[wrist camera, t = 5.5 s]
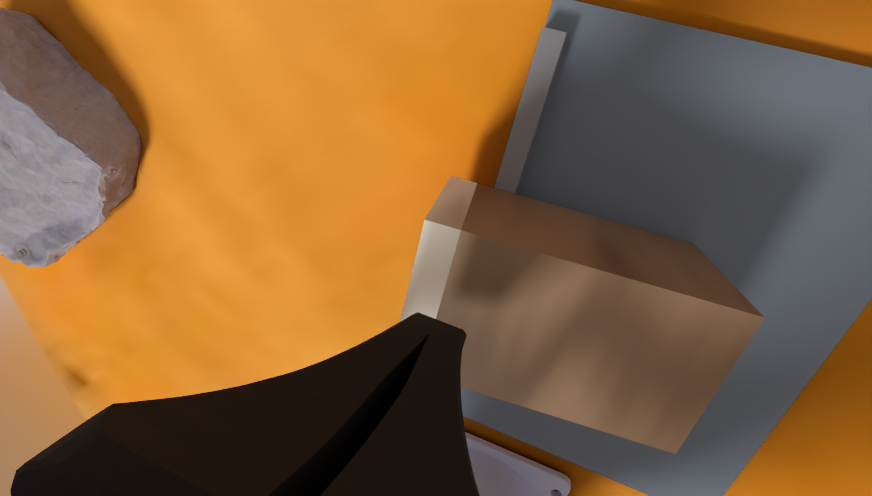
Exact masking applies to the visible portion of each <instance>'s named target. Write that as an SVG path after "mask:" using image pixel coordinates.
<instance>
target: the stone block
mask: <svg viewBox="0 0 872 496" xmlns="http://www.w3.org/2000/svg"><path fill="white" fill-rule="evenodd" d="M140 152H141V140H140V134H139V133H138V131H137V129H136V127H135V126H134V125H133V123H132V122H131V121H130V119H129V118H128V116H127V115H126V113H125V112H124V110H123V109H122V107H121V105H120V103H119V102H118V101H117V100H116V98H115V96H114V95H113V93H112V92H111V91H109V90H108V89H107V88H106V87H104V86H103V85H102V84H101V83H100V82H98V81H97V80H96V79H95V78H94V76H93V75H92V74H91V73H90V72H88V71H86V70H84V69H83V68H82V67H81V66H80V65H79V64H78V63H77V61H76V60H75V59H74V58H73V57H72V55H71V54H70V52H69V51H68V50H67V49H66V48H65V46H64V45H63V44H62V43H61V42H60V41H58V40H57V39H56V38H55V37H53V36H52V35H51V34H50V33H49V32H48V31H47V30H46V29H45V28H44V27H43V25H42V24H41V23H40V22H39V21H38V20H37V19H36V18H35V17H33V16H31V15H29V14H26V13H23V12H20V11H17V10H7V9H3V8H0V253H1V254H2V255H4V256H5V257H6V258H8V259H9V260H10V261H12V262H13V263H16V262H22V263H24V264H25V265H26V266H28V267H31V268H33V267H45V266H48V265H51V264H53V263H55V262H57V261H58V260H59V259H60V258H61V257H62V256H63V255H65V254H66V252H67V251H68V250H70V248H71V247H74V246H76V245H77V244H78V243H79V242H80V241H81V239H82V238H84V237H85V236H87V235H89V234H91V233H92V232H93V231H94V230H95V229H96V228H97V227H98V226H99V225H100V224H101V223H103V222H104V221H105V220H106V219H107V217H108V214H109V212H110V211H111V210H112V209H113V208H114V207H116V206H118V204H119V203H120V202H121V200H123V199H124V198H126V197H127V196H128V195H130V194H131V192H132V191H133V190H134V180H135V176H136V173H137V169H138V161H139V157H140Z"/></svg>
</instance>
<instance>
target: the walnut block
mask: <svg viewBox="0 0 872 496" xmlns="http://www.w3.org/2000/svg"><path fill="white" fill-rule="evenodd" d="M417 312H419V313H421V314H424V315H427V316H429V317H432V318H434V319H437V320H440V321H442V322H445V323H447V324H450V325H453V326H455V327H458V328H460V329H463V330H464V331H465V333H466V335H467V336H466V340H465V343H464V346H463V349H462V357H461V387H462V388H465V389H468V390H471V391H475V392H478V393H481V394H484V395H487V396H491V397H494V398H497V399H500V400H504V401H507V402H510V403H513V404H516V405H520V406H523V407H526V408H529V409H532V410H536V411H539V412H542V413H545V414H548V415H552V416H555V417H558V418H561V419H565V420H568V421H571V422H574V423H577V424H581V425H584V426H587V427H590V428H593V429H597V430H600V431H603V432H606V433H610V434H613V435H616V436H619V437H622V438H626V439H629V440H632V441H635V442H638V443H642V444H645V445H648V446H651V447H654V448H658V449H661V450H664V451H667V452H671V453H674V454H676V453H677V451H678V450H679V448H680V447H681V445H682V444H683V442H684V441H685V439H686V437H687V436H688V434H689V433H690V431H691V430H692V428H693V427H694V425H695V424H696V422H697V421H698V419H699V418H700V416H701V415H702V413H703V411H704V410H705V408H706V407H707V405H708V404H709V402H710V401H711V399H712V398H713V396H714V395H715V393H716V392H717V390H718V389H719V387H720V385H721V384H722V382H723V381H724V379H725V378H726V376H727V375H728V373H729V372H730V370H731V369H732V367H733V366H734V364H735V363H736V361H737V359H738V358H739V356H740V355H741V353H742V352H743V350H744V349H745V347H746V346H747V344H748V343H749V341H750V340H751V338H752V337H753V335H754V333H755V332H756V330H757V329H758V327H759V326H760V324H761V323H762V321H763V320H764V318H765V317H764V316H763V315H762V314H761V313H760V312H759V311H758V310H757V309H756V308H755V307H754V306H753V305H752V304H751V303H750V302H749V300H748V299H747V298H746V297H745V296H744V295H743V294H742V293H741V292H740V291H739V290H738V289H737V288H736V287H735V286H734V285H733V284H732V283H731V282H730V281H729V280H728V278H727V277H726V276H725V275H724V274H723V273H722V272H721V271H720V270H719V269H718V268H717V267H716V266H715V265H714V264H713V263H712V262H711V261H710V260H709V259H708V257H707V256H706V255H705V254H704V253H703V252H702V251H701V250H700V249H699V248H698V247H697V246H696V245H695V244H693V243H689V242H686V241H682V240H679V239H675V238H671V237H668V236H664V235H661V234H657V233H654V232H650V231H646V230H643V229H639V228H636V227H632V226H629V225H625V224H622V223H618V222H614V221H611V220H607V219H604V218H600V217H597V216H593V215H589V214H586V213H582V212H579V211H575V210H572V209H568V208H564V207H561V206H557V205H554V204H550V203H547V202H543V201H539V200H536V199H532V198H529V197H525V196H522V195H518V194H515V193H511V192H507V191H504V190H500V189H497V188H493V187H490V186H486V185H482V184H479V183H475V182H472V181H468V180H465V179H461V178H457V177H454V176H451V177H450V178H449V180H448V182H447V183H446V185H445V187H444V188H443V190H442V192H441V193H440V195H439V197H438V198H437V200H436V202H435V203H434V205H433V207H432V208H431V210H430V212H429V213H428V215H427V217H426V218H425V221H424V225H423V229H422V233H421V237H420V241H419V245H418V250H417V254H416V258H415V262H414V266H413V270H412V274H411V278H410V283H409V287H408V291H407V295H406V299H405V303H404V307H403V312H402V316H401V320H400V322H401V321H403V320H404V319H406V318H407V317H409V316H411V315H412V314H415V313H417Z"/></svg>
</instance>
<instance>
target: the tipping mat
mask: <svg viewBox="0 0 872 496" xmlns="http://www.w3.org/2000/svg"><path fill="white" fill-rule="evenodd" d="M494 188H497V189H500V190H504V191H507V192H511V193H515V194H518V195H522V196H525V197H529V198H532V199H536V200H539V201H543V202H547V203H550V204H554V205H557V206H561V207H564V208H568V209H572V210H575V211H579V212H582V213H586V214H589V215H593V216H597V217H600V218H604V219H607V220H611V221H614V222H618V223H622V224H625V225H629V226H632V227H636V228H639V229H643V230H646V231H650V232H654V233H657V234H661V235H664V236H668V237H671V238H675V239H679V240H682V241H686V242H689V243H693V244H695V245H696V246H697V247H698V248H699V249H700V250H701V251H702V252H703V253H704V254H705V255H706V256H707V257H708V259H709V260H710V261H711V262H712V263H713V264H714V265H715V266H716V267H717V268H718V269H719V270H720V271H721V272H722V273H723V274H724V275H725V276H726V277H727V278H728V280H729V281H730V282H731V283H732V284H733V285H734V286H735V287H736V288H737V289H738V290H739V291H740V292H741V293H742V294H743V295H744V296H745V297H746V298H747V299H748V300H749V302H750V303H751V304H752V305H753V306H754V307H755V308H756V309H757V310H758V311H759V312H760V313H761V314H762V315H763V316H764V317H765V318H764V320H763V321H762V323H761V324H760V326H759V327H758V329H757V330H756V332H755V333H754V335H753V337H752V338H751V340H750V341H749V343H748V344H747V346H746V347H745V349H744V350H743V352H742V353H741V355H740V356H739V358H738V359H737V361H736V363H735V364H734V366H733V367H732V369H731V370H730V372H729V373H728V375H727V376H726V378H725V379H724V381H723V382H722V384H721V385H720V387H719V389H718V390H717V392H716V393H715V395H714V396H713V398H712V399H711V401H710V402H709V404H708V405H707V407H706V408H705V410H704V411H703V413H702V415H701V416H700V418H699V419H698V421H697V422H696V424H695V425H694V427H693V428H692V430H691V431H690V433H689V434H688V436H687V437H686V439H685V441H684V442H683V444H682V445H681V447H680V448H679V450H678V451H677V453H676V454H674V453H671V452H667V451H664V450H661V449H658V448H654V447H651V446H648V445H645V444H642V443H638V442H635V441H632V440H629V439H626V438H622V437H619V436H616V435H613V434H610V433H606V432H603V431H600V430H597V429H593V428H590V427H587V426H584V425H581V424H577V423H574V422H571V421H568V420H565V419H561V418H558V417H555V416H552V415H548V414H545V413H542V412H539V411H536V410H532V409H529V408H526V407H523V406H520V405H516V404H513V403H510V402H507V401H504V400H500V399H497V398H494V397H491V396H487V395H484V394H481V393H478V392H475V391H471V390H468V389H465V388H462V387H461V402H462V412H463V417H466V418H468V419H470V420H473V421H475V422H477V423H480V424H482V425H484V426H487V427H489V428H492V429H494V430H496V431H499V432H501V433H503V434H506V435H508V436H510V437H513V438H515V439H518V440H520V441H522V442H525V443H527V444H529V445H532V446H534V447H536V448H539V449H541V450H544V451H546V452H548V453H551V454H553V455H555V456H558V457H560V458H562V459H565V460H567V461H570V462H572V463H574V464H577V465H579V466H581V467H584V468H586V469H588V470H591V471H593V472H595V473H598V474H600V475H603V476H605V477H607V478H610V479H612V480H614V481H617V482H619V483H621V484H624V485H626V486H629V487H631V488H633V489H636V490H638V491H640V492H643V493H645V494H647V495H650V496H723V495H724V494H725V492H726V491H727V490H728V489H729V487H730V486H731V485H732V483H733V482H734V481H735V479H736V478H737V477H738V475H739V474H740V473H741V471H742V470H743V469H744V467H745V466H746V465H747V463H748V462H749V461H750V459H751V458H752V457H753V455H754V454H755V453H756V451H757V450H758V449H759V447H760V446H761V445H762V443H763V442H764V441H765V439H766V438H767V437H768V435H769V434H770V433H771V431H772V430H773V429H774V428H775V426H776V425H777V424H778V422H779V421H780V420H781V418H782V417H783V416H784V414H785V413H786V412H787V410H788V409H789V408H790V406H791V405H792V404H793V402H794V401H795V400H796V398H797V397H798V396H799V394H800V393H801V392H802V390H803V389H804V388H805V386H806V385H807V384H808V382H809V381H810V380H811V378H812V377H813V376H814V374H815V373H816V372H817V370H818V369H819V368H820V367H821V365H822V364H823V363H824V361H825V360H826V359H827V357H828V356H829V355H830V353H831V352H832V351H833V349H834V348H835V347H836V345H837V344H838V343H839V341H840V340H841V339H842V337H843V336H844V335H845V333H846V332H847V331H848V329H849V328H850V327H851V325H852V324H853V323H854V321H855V320H856V319H857V317H858V316H859V315H860V313H861V312H862V311H863V310H864V308H865V307H866V306H867V304H868V303H869V302H870V300H871V299H872V68H871V67H867V66H862V65H858V64H854V63H849V62H845V61H840V60H836V59H832V58H827V57H823V56H818V55H814V54H809V53H805V52H801V51H796V50H792V49H787V48H783V47H778V46H774V45H770V44H765V43H761V42H756V41H752V40H747V39H743V38H739V37H734V36H730V35H725V34H721V33H716V32H712V31H708V30H703V29H699V28H694V27H690V26H685V25H681V24H677V23H672V22H668V21H663V20H659V19H654V18H650V17H646V16H641V15H637V14H632V13H628V12H623V11H619V10H615V9H610V8H606V7H601V6H597V5H592V4H588V3H584V2H579V1H575V0H553V2H552V5H551V9H550V12H549V15H548V19H547V22H546V25H545V27H542V29H541V32H540V36H539V39H538V42H537V46H536V49H535V52H534V56H533V59H532V62H531V66H530V69H529V72H528V76H527V79H526V82H525V86H524V89H523V93H522V96H521V99H520V103H519V106H518V109H517V113H516V116H515V119H514V123H513V126H512V129H511V133H510V136H509V139H508V143H507V146H506V149H505V153H504V156H503V159H502V163H501V166H500V169H499V173H498V176H497V179H496V183H495V186H494Z"/></svg>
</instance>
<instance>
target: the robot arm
mask: <svg viewBox="0 0 872 496" xmlns="http://www.w3.org/2000/svg"><path fill="white" fill-rule="evenodd" d="M466 336H467V335H466V333H465V331H464V330H463V329H460V328H458V327H455V326H453V325H450V324H447V323H445V322H442V321H440V320H437V319H434V318H432V317H429V316H427V315H424V314H421V313H419V312H417V313H415V314H412V315H411V316H409V317H407V318H406V319H404V320H403V321H401V322H399V323H398V324H396V325H394V326H392V327H391V328H389V329H387V330H385V331H384V332H382V333H380V334H378V335H376V336H374V337H372V338H371V339H369V340H367V341H365V342H363V343H361V344H359V345H357V346H355V347H353V348H351V349H349V350H346V351H344V352H342V353H340V354H338V355H335V356H333V357H331V358H329V359H326V360H324V361H321V362H319V363H316V364H314V365H311V366H308V367H306V368H303V369H300V370H297V371H294V372H291V373H288V374H284V375H281V376H277V377H273V378H269V379H265V380H262V381H258V382H254V383H250V384H247V385H242V386H238V387H233V388H228V389H223V390H218V391H213V392H207V393H201V394H195V395H189V396H182V397H174V398H165V399H156V400H147V401H138V402H129V403H117V404H112V405H110V406H109V407H107V408H105V409H104V410H102V411H101V412H99V413H98V414H96V415H95V416H93V417H91V418H90V419H88V420H87V421H85V422H84V423H82V424H81V425H80V426H78V427H77V428H75V429H74V430H72V431H71V432H69V433H68V434H66V435H65V436H64V437H62V438H61V439H59V440H58V441H56V442H55V443H53V444H52V445H51V446H49V447H48V448H46V449H45V450H43V451H42V452H40V453H39V454H37V455H36V456H35V457H33V458H32V459H30V460H29V461H27V462H26V463H25V464H24V465H22V466H21V467H20V468H19V469H18V470H16V473H15V476H14V480H13V483H12V487H11V496H567V495H568V494H569V492H570V489H571V481H570V479H569V478H568V477H567V476H566V475H564V474H562V473H560V472H558V471H555V470H553V469H551V468H548V467H546V466H544V465H541V464H539V463H537V462H534V461H532V460H530V459H527V458H525V457H523V456H520V455H518V454H516V453H513V452H511V451H509V450H506V449H504V448H502V447H500V446H497V445H495V444H493V443H490V442H488V441H486V440H483V439H481V438H479V437H476V436H474V435H472V434H469V433H467V432H465V428H464V421H463V412H462V402H461V357H462V349H463V346H464V343H465V340H466ZM554 490H558V491H554Z"/></svg>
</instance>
